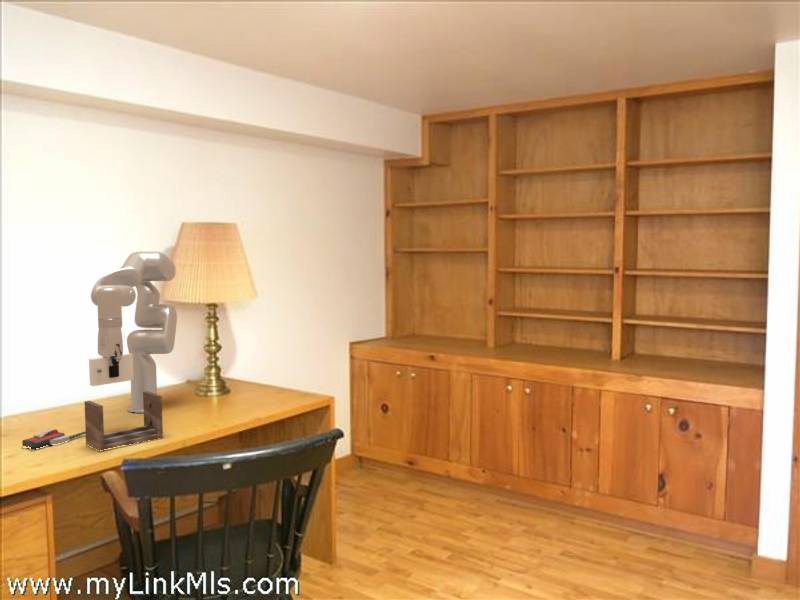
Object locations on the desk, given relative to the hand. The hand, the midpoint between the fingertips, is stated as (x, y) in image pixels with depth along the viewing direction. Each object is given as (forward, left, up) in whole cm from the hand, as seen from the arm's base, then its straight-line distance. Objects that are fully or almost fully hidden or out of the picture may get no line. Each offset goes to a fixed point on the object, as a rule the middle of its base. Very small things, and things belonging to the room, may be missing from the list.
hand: (112, 376), depth 229 cm
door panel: (0, 0, -2) cm, 2 cm away
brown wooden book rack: (+13, -2, -20) cm, 24 cm away
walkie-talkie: (-4, -18, -20) cm, 28 cm away
